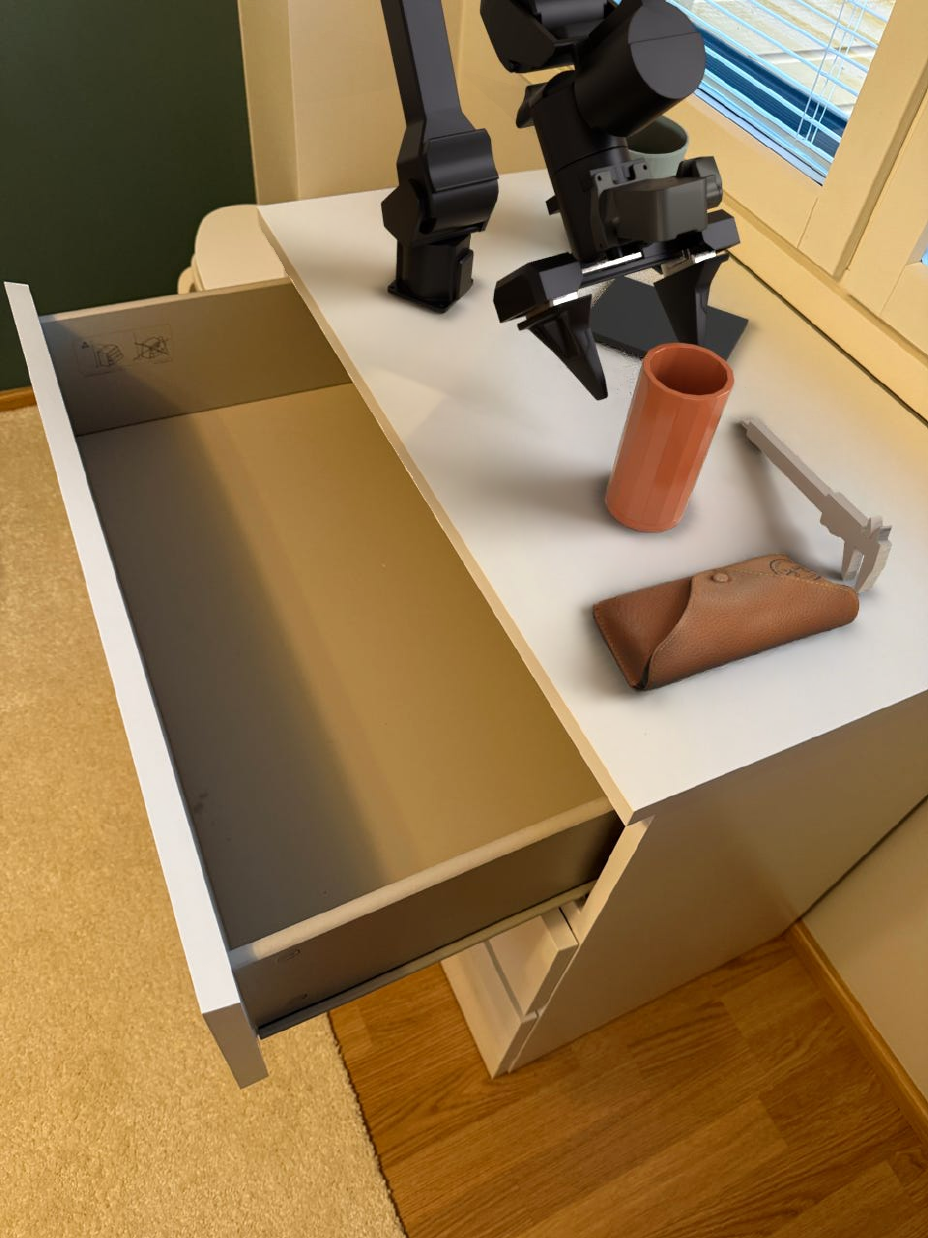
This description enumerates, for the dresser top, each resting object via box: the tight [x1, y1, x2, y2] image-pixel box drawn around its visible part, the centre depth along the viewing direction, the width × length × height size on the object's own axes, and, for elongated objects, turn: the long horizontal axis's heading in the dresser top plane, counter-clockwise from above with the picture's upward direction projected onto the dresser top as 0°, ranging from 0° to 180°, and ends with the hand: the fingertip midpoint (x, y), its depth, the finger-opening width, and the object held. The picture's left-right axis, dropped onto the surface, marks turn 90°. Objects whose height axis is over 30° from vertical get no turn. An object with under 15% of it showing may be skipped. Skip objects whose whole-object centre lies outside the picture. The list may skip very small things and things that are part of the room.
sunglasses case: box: [592, 552, 860, 692], centre depth 66 cm, size 18×7×7 cm
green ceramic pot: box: [601, 114, 690, 263], centre depth 95 cm, size 10×10×12 cm
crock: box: [604, 343, 735, 533], centre depth 70 cm, size 6×6×13 cm
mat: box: [589, 276, 750, 362], centre depth 90 cm, size 14×11×1 cm
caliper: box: [740, 418, 893, 594], centre depth 74 cm, size 20×1×6 cm, turn 15°
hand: (651, 381), depth 68 cm, fingers open, 9 cm apart
